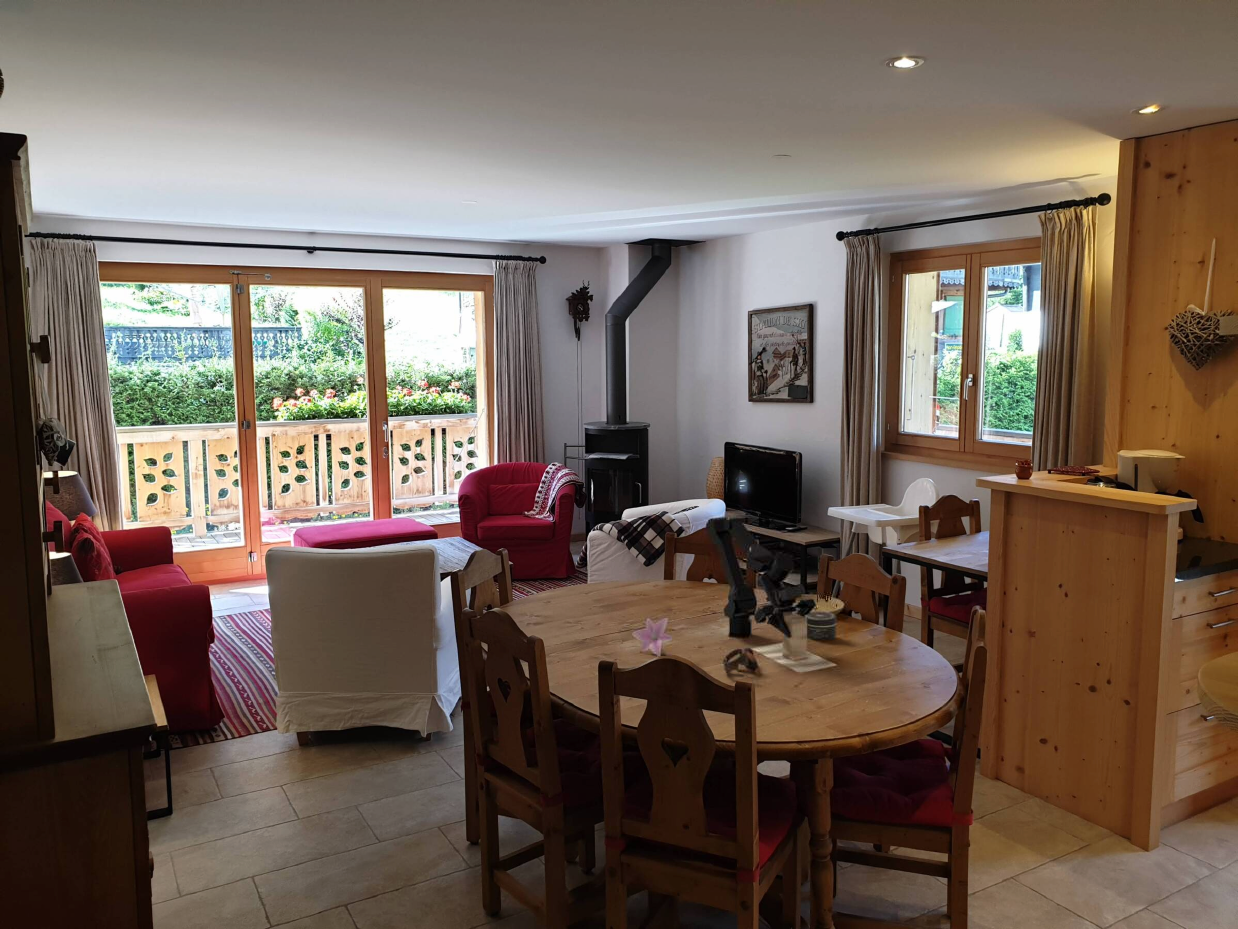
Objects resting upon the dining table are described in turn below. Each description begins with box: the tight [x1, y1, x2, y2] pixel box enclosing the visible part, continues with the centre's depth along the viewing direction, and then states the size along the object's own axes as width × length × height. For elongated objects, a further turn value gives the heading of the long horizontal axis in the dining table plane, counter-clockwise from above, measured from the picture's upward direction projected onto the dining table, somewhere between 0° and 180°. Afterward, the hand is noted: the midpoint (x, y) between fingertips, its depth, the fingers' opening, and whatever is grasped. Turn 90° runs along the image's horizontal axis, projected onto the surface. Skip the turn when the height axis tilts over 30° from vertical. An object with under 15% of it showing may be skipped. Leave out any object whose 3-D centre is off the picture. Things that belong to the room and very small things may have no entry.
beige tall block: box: [781, 614, 808, 661], centre depth 262 cm, size 5×5×12 cm
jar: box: [805, 611, 837, 641], centre depth 282 cm, size 10×10×8 cm
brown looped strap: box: [722, 647, 761, 675], centre depth 254 cm, size 12×10×8 cm
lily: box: [631, 617, 674, 657], centre depth 275 cm, size 12×12×10 cm
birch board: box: [750, 642, 837, 674], centre depth 264 cm, size 24×13×1 cm, turn 26°
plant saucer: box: [783, 594, 845, 616], centre depth 312 cm, size 24×24×3 cm
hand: (797, 636), depth 261 cm, fingers closed on beige tall block, 5 cm apart
